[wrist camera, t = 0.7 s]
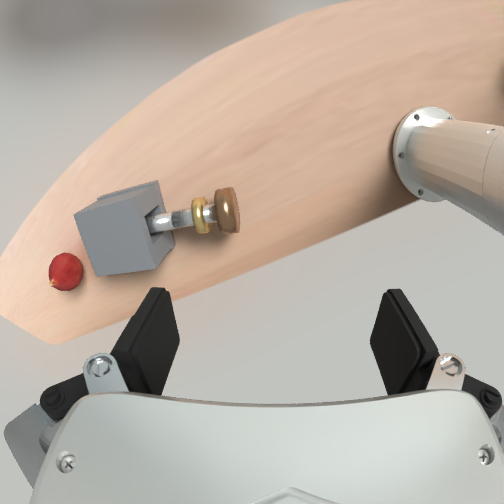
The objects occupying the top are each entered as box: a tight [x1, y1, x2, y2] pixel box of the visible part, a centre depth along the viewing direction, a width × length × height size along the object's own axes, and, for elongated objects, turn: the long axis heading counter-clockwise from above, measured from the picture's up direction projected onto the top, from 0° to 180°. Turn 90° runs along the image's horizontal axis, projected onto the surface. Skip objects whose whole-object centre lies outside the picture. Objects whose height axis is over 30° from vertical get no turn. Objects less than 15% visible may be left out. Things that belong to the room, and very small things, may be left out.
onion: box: [49, 253, 83, 291], centre depth 35 cm, size 6×6×8 cm
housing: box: [74, 180, 175, 276], centre depth 32 cm, size 9×9×7 cm
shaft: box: [145, 187, 240, 235], centre depth 31 cm, size 13×5×5 cm, turn 100°
